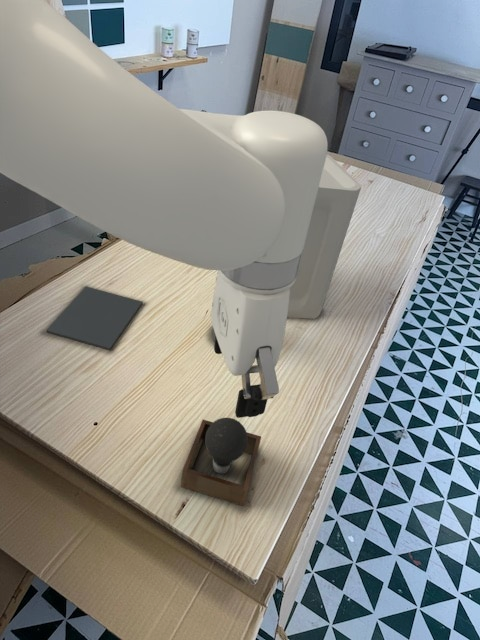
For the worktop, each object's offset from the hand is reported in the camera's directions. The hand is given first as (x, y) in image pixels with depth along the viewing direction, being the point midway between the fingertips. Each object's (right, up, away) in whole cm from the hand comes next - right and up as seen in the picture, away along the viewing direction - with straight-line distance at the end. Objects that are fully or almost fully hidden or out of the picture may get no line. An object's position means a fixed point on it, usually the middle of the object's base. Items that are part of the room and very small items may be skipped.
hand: (237, 380), depth 54 cm
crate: (-2, -14, +12) cm, 19 cm away
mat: (-26, +8, +32) cm, 42 cm away
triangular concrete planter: (+10, +11, +44) cm, 47 cm away
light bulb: (-2, -14, +12) cm, 19 cm away
